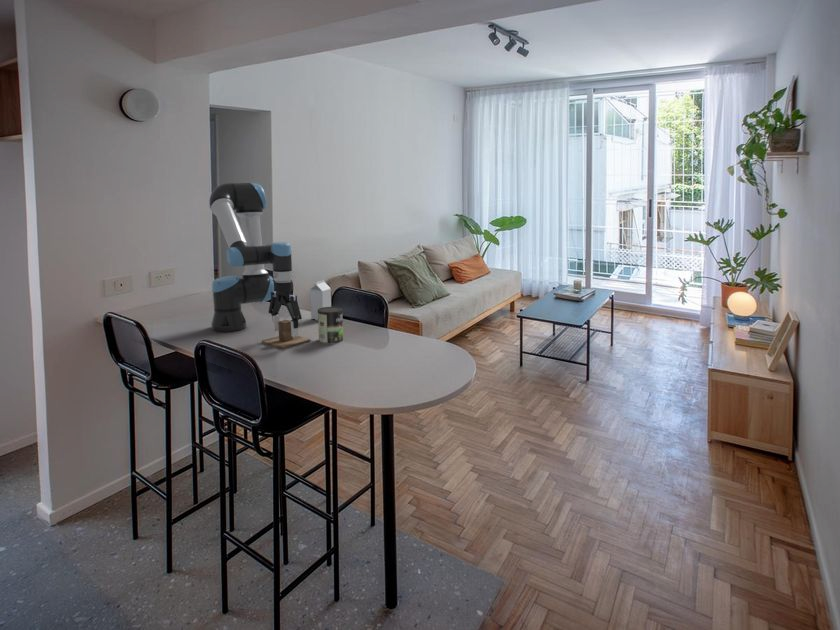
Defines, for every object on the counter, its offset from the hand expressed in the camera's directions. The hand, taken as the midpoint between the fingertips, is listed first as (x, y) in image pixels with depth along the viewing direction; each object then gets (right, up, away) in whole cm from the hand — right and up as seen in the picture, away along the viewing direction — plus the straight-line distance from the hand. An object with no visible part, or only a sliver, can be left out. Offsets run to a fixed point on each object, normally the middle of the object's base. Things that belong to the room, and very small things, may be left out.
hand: (285, 333), depth 226 cm
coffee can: (+18, -4, +5) cm, 19 cm away
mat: (0, -4, +1) cm, 5 cm away
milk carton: (+7, +5, +41) cm, 42 cm away
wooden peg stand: (0, -4, +1) cm, 4 cm away
